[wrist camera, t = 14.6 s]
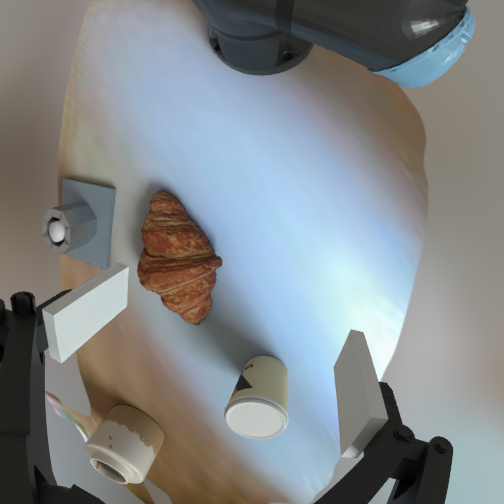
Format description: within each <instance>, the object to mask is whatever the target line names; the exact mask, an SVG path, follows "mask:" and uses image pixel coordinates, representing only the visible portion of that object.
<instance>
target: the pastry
mask: <svg viewBox="0 0 504 504" xmlns="http://www.w3.org/2000/svg"><path fill="white" fill-rule="evenodd" d="M150 205H151V210H150V211H149V213H148V214H147V215H146V220H145V223H144V224H143V228H142V230H141V232H142V239H143V241H144V244H145V248H144V249H143V253H142V254H141V257H140V260H139V263H138V270H137V273H138V276H139V279H140V283H141V285H142V286H143V287H144V288H145V289H147V290H151V291H152V292H155V293H157V294H159V295H161V300H162V303H163V304H164V306H166V307H167V308H168V309H169V310H172V311H173V312H177V313H178V314H179V315H180V316H181V317H182V318H183V319H184V320H185V321H186V322H188V323H191V324H194V325H199V324H200V323H201V322H202V320H203V319H204V318H205V317H206V315H207V314H208V313H209V312H210V309H211V307H212V299H211V294H210V292H211V291H212V289H213V287H214V284H215V283H216V272H215V271H216V268H218V267H220V266H222V259H221V258H220V257H219V256H218V257H217V255H216V254H215V252H214V249H213V248H212V247H211V246H210V244H209V241H208V239H207V238H206V236H205V234H204V232H202V231H201V230H200V229H199V228H198V227H197V226H196V224H195V222H193V221H192V220H191V219H190V218H188V216H187V213H186V211H185V208H184V207H183V205H182V204H181V203H180V202H179V201H178V199H176V198H175V197H174V196H172V195H171V194H169V193H168V192H165V191H164V190H160V191H158V192H157V193H156V195H155V196H154V197H153V199H152V200H151V201H150Z"/></svg>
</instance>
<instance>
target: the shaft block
mask: <svg viewBox="0 0 504 504" xmlns="http://www.w3.org/2000/svg"><path fill="white" fill-rule="evenodd" d="M115 193H116V188H112V187H107V186H102V185H97V184H93V183H88V182H83V181H78V180H73V179H68V178H65V179H63V181H62V193H61V206H62V205H66V204H71V203H75V202H81V203H85V204H89V205H90V206H91V208H92V210H93V212H94V214H95V215H96V217H97V234H96V236H95V237H94V238H93V239H92V240H91V241H90V242H89V243H88V244H86V245H83V246H81V247H79V248H76V249H74V250H72V251H70V252H67V253H65V254H66V255H69V256H71V257H74V258H76V259H79V260H82V261H84V262H87V263H89V264H92V265H95V266H97V267H100V268H103V269H105V270H106V269H108V268H109V266H110V246H111V232H112V221H113V211H114V202H115ZM49 233H50V236H51V238H52V240H53V241H55V242H59V241H62V240H64V239H65V228H64V226H63V224H62V222H61V220H59V221H56V222H53V223H51V225H50V227H49Z"/></svg>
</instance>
